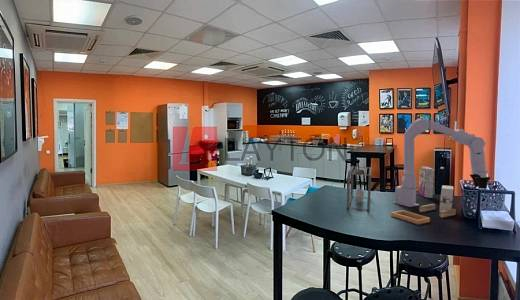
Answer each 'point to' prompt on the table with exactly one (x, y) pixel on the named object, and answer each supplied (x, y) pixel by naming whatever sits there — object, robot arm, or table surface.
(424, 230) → the table surface
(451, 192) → the ink box
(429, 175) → the candy bar box
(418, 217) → the tan wooden flat tray
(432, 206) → the birch tunnel
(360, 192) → the newton's cradle
